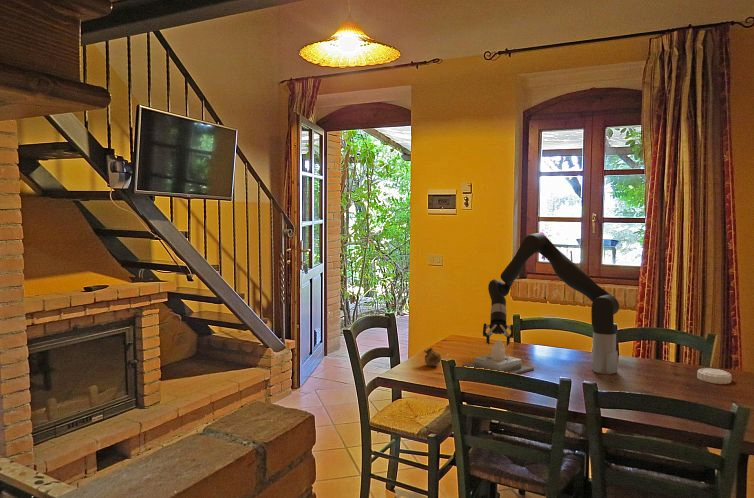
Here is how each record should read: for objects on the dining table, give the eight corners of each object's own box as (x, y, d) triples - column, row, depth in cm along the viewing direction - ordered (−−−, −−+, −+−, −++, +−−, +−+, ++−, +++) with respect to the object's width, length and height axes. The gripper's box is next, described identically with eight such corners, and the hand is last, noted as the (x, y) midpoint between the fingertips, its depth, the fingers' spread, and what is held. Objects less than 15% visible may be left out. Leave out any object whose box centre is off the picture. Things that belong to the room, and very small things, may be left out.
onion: (424, 368, 240) (424, 350, 240) (423, 363, 248) (423, 346, 248) (441, 368, 240) (441, 350, 240) (440, 363, 248) (440, 346, 248)
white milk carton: (502, 337, 243) (507, 340, 237) (501, 363, 243) (507, 367, 238) (489, 338, 241) (494, 341, 236) (489, 364, 242) (494, 368, 237)
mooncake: (736, 385, 216) (737, 376, 216) (704, 383, 218) (704, 375, 218) (723, 376, 228) (723, 367, 228) (692, 374, 230) (692, 366, 230)
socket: (533, 370, 237) (533, 360, 237) (499, 379, 225) (499, 368, 224) (496, 359, 255) (496, 349, 255) (462, 366, 243) (462, 357, 242)
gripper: (483, 310, 259) (482, 339, 249) (513, 311, 256) (514, 340, 246) (483, 318, 265) (482, 347, 255) (513, 320, 262) (513, 349, 251)
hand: (498, 344), depth 250 cm, fingers open, 8 cm apart
